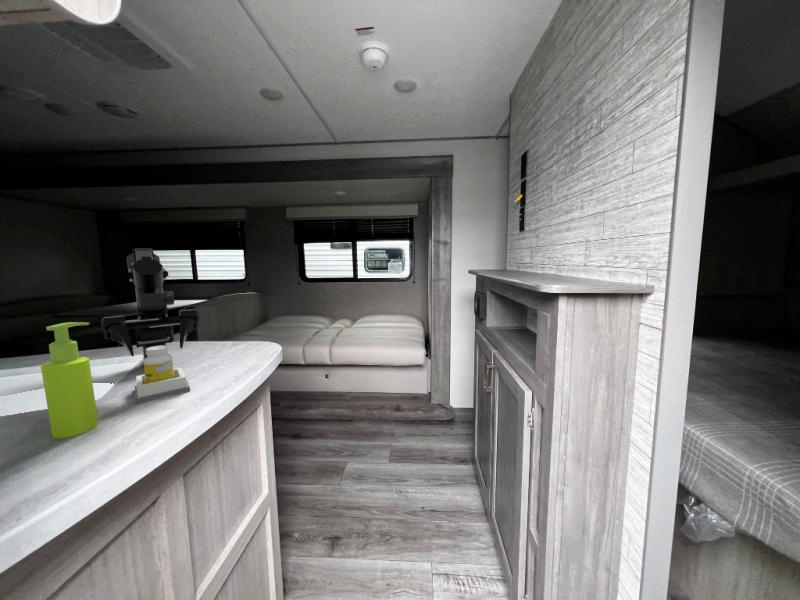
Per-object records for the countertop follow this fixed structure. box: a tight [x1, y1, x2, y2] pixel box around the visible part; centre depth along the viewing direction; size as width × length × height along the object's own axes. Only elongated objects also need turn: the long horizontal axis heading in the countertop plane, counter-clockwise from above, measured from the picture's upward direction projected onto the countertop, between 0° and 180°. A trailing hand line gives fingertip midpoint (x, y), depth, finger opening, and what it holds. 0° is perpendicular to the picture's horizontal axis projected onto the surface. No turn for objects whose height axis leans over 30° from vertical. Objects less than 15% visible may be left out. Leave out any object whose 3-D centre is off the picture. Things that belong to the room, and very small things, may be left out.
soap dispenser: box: [40, 321, 99, 439], centre depth 56 cm, size 6×7×20 cm
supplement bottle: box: [142, 345, 174, 384], centre depth 73 cm, size 5×5×10 cm
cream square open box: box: [134, 367, 191, 404], centre depth 73 cm, size 10×10×4 cm
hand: (158, 351), depth 73 cm, fingers open, 9 cm apart
